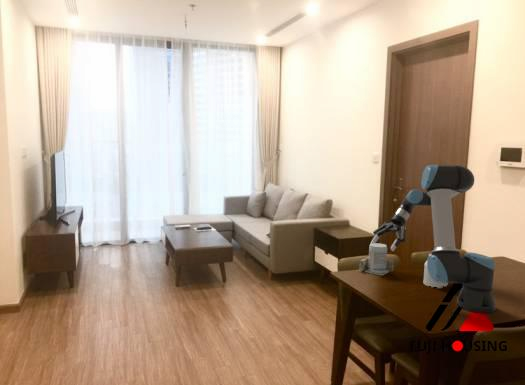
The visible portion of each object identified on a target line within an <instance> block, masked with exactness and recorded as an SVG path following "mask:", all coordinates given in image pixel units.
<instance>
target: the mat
mask: <svg viewBox="0 0 525 385" xmlns="http://www.w3.org/2000/svg"><path fill="white" fill-rule="evenodd" d="M364 272H365V273H369V274H373V275H377V276H384V275H386V274H387V273H390V271H388V270H386V272H384V273H374V272H371V271H369V269H366V270H364Z"/></svg>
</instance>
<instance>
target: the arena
mask: <svg viewBox="0 0 525 385" xmlns="http://www.w3.org/2000/svg"><path fill="white" fill-rule="evenodd" d="M394 262H395V260H393V259H388V258H387V263H386V270H387V271H389V272H394ZM358 265H359V266H358V272H359V273H361V272H363V271H366V270H368V267H369V256H367V257H365V258H363V259H360V260H359V264H358Z"/></svg>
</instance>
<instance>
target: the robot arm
mask: <svg viewBox="0 0 525 385" xmlns="http://www.w3.org/2000/svg"><path fill="white" fill-rule="evenodd" d="M474 184H475V175H474V174H473V172H472V170H470V169H469V168H467V167H465V166H462V165H446V164H445V165H444V164H429V165H427V166H425V168H424V170H423V172H422V176H421V184H420V185H421V188H422V190H425V191H426V192H425V191H424V192H422V191H421V190H420V189H417V188H415V189H411V190H410V191H409V192H408V193H407V195H406V196H405V198H403V200H402V202H401V203H400V205H399V207H398V208H397V209H396V211H395V213H394V215H392V217H391V219H390V222H389V223H388V222H387V221H384V222H383V224H381V225H380V226H379V227H378V228H376V229H375V230H374V231H372V234H374V236H373V237H372V239H371V242H370V244H372V243H377V242H378V240H379V238H380V236H382V235H384V234H387V233H390V232H393V233H395V235H396V239H395V240H394V241H393V243H392V244H391V246H390V248H389V249H390V251H391V252H394V251H395V250H396V248H397V247H399V245H400V244H401V243H404V242H406V232H407V230H408V229H407V227H406V225H405V224H406V223H407V221H408V219H409V218H410V216H411V214H412V213H413V211H414V210H415V208H417V206H419V207H420V206H421V207H431V220H432V231H433V243H434V248H433V250H432V251H431V253H430V254H432V255H430V256H429V255H428V257H427V260H426V261H428V262H427V267H428V272H429V274H430V276H431V278H432V279H433V280H434V281H436V282H443V283H448V284H450V283H451V284H462V288H461V289H460V291H459V293H458V294H457V295H458V296H457V298H456V304H457V303H458V304H459V306H458V307H460V308H462V309H464V310H467V311H469V312H473V313H474V312H475V313H481V314H483V313H484V314H490V313H493V312H495V310H496V302H495V298H494V295H493V285H494V276H495V270H496V269H495V260H494V259H493V258H491V257H490V256H487V255H484V254H480V253H476V252H471V251H469V252H465V254H464V256H461V253H460V252H461V251H460V250H459V249H458V248H457V247H456V238H455V227H454V218H453V217H454V216H453V207H452V199H453V198H454V197H456V196H458V195H459V194H462V193H467V192H469V190H470V189H472V188H473V186H474ZM400 230H401V233H400ZM370 244H369V245H370Z"/></svg>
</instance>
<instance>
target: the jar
mask: <svg viewBox="0 0 525 385" xmlns="http://www.w3.org/2000/svg"><path fill="white" fill-rule="evenodd" d="M430 255H432V254H431V253H429V254H428V257H429V256H430ZM427 262H428V261H427V260H426V261H425V262H424V271H423V281H422V283H423V284H424V285H425V286H426V287H429V286H431V287H430V288H433V287H437V288H436V289H443V288H444V287H448V286H447V285H449V283H443V282H436V281H434V280H433V279H432V278H431V276H430V274H429V272H428V267H427ZM443 286H444V287H443Z"/></svg>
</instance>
